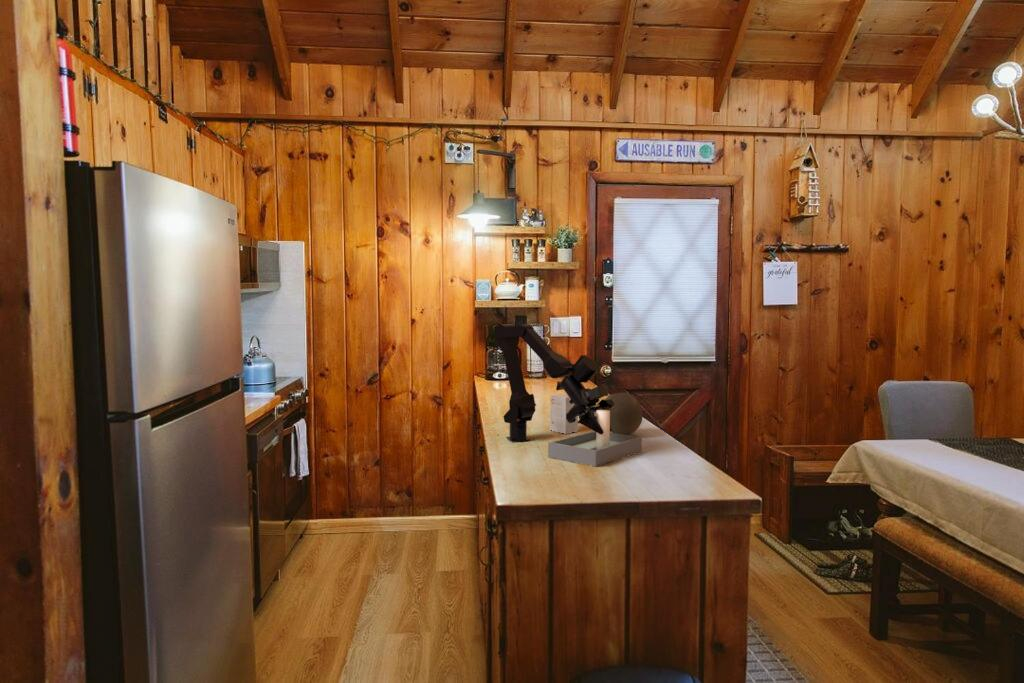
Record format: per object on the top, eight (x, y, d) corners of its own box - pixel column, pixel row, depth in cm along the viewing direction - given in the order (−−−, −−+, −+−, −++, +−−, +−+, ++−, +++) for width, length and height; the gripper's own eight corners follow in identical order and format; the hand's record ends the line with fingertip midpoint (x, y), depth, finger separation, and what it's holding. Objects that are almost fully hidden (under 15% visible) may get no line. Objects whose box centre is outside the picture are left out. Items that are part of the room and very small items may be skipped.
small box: (578, 432, 233) (578, 395, 232) (565, 434, 229) (565, 397, 228) (562, 428, 239) (562, 393, 238) (549, 431, 235) (549, 395, 234)
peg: (594, 454, 197) (594, 411, 196) (598, 451, 200) (599, 409, 199) (606, 455, 195) (607, 412, 194) (611, 452, 198) (611, 410, 197)
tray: (548, 457, 195) (548, 442, 195) (596, 443, 214) (596, 430, 214) (595, 466, 184) (595, 451, 184) (641, 451, 203) (641, 437, 202)
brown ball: (609, 430, 236) (610, 389, 235) (647, 434, 229) (648, 391, 228) (594, 437, 224) (594, 393, 223) (633, 441, 217) (633, 396, 216)
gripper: (574, 378, 192) (605, 420, 185) (609, 373, 205) (639, 411, 199) (552, 402, 197) (582, 443, 191) (588, 395, 211) (617, 433, 205)
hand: (606, 432), depth 196 cm, fingers closed on peg, 4 cm apart
